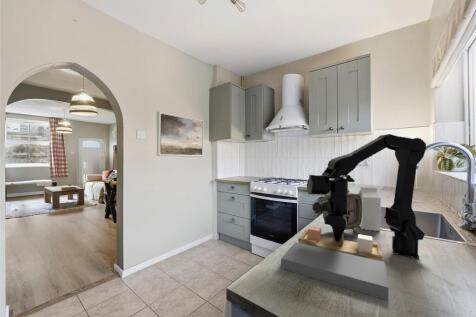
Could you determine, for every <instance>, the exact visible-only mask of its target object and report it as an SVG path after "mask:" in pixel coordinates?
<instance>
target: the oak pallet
mask: <svg viewBox="0 0 476 317" xmlns="http://www.w3.org/2000/svg"><path fill="white" fill-rule="evenodd" d="M344 234H345V232H344V233H343V235H342V237H341V239H340V241H339V242H336V241H335V237H334V233H333V232H332V237H330V236H325V235H321V240H320V241H319V242H316V241H313V240H308V239H307V235H308V229H307V230H306V229H305V230H304V231H303V232H302V233H301V235H299V237H298V238H297V241H298V242H297V243H301V244H305V245H310V246H314V247H319V248H324V249H328V250H333V251H337V252H342V253H346V254H351V255H355V256H360V257H364V258H369V259H373V260H378V261H382V262H383V252H382V251H383V250H382V244H381V243H377V242H372V253H371V252H366V251H361V250H358V241H357V242H356V241H352V240H351V241H350V240H345V238H344V237H345V236H344Z"/></svg>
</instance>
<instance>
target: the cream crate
mask: <svg viewBox="0 0 476 317" xmlns="http://www.w3.org/2000/svg"><path fill="white" fill-rule="evenodd" d="M357 234H358V233H357ZM357 243H358V250H361V251H366V252H371V253H372V243H373V236H371V235H366V234H365V235H364V234H358V235H357Z"/></svg>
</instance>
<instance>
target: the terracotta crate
mask: <svg viewBox="0 0 476 317" xmlns="http://www.w3.org/2000/svg"><path fill="white" fill-rule="evenodd" d="M307 231H308V235H307V239H308V240H313V241H316V242H319V241H320V240H321V236H322V227H318V226H313V225H309V227H308V228H307Z"/></svg>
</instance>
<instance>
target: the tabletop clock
mask: <svg viewBox="0 0 476 317" xmlns="http://www.w3.org/2000/svg"><path fill="white" fill-rule="evenodd" d="M340 177H344V176H340ZM329 197H330V192H329V193H327V194H326V195H324V196H323V200H322V201H326V200H328V198H329ZM348 207H349V208H350V215H348V214H347V215H345V216H348V217H349V220H348V222H347V226H346V228H345V230H344V231H348V230H352V233H353V234H355V235H356V234H358V231H357V230H356V228H358V227H359V225H360V224H361V219H362V198H361V196H360V195H358V193H352V192H350V189H348ZM328 214H329V213H327V211H324V212H322V218H323V221H324V222H325V217H326V215H328ZM332 214H333V213H332Z"/></svg>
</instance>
